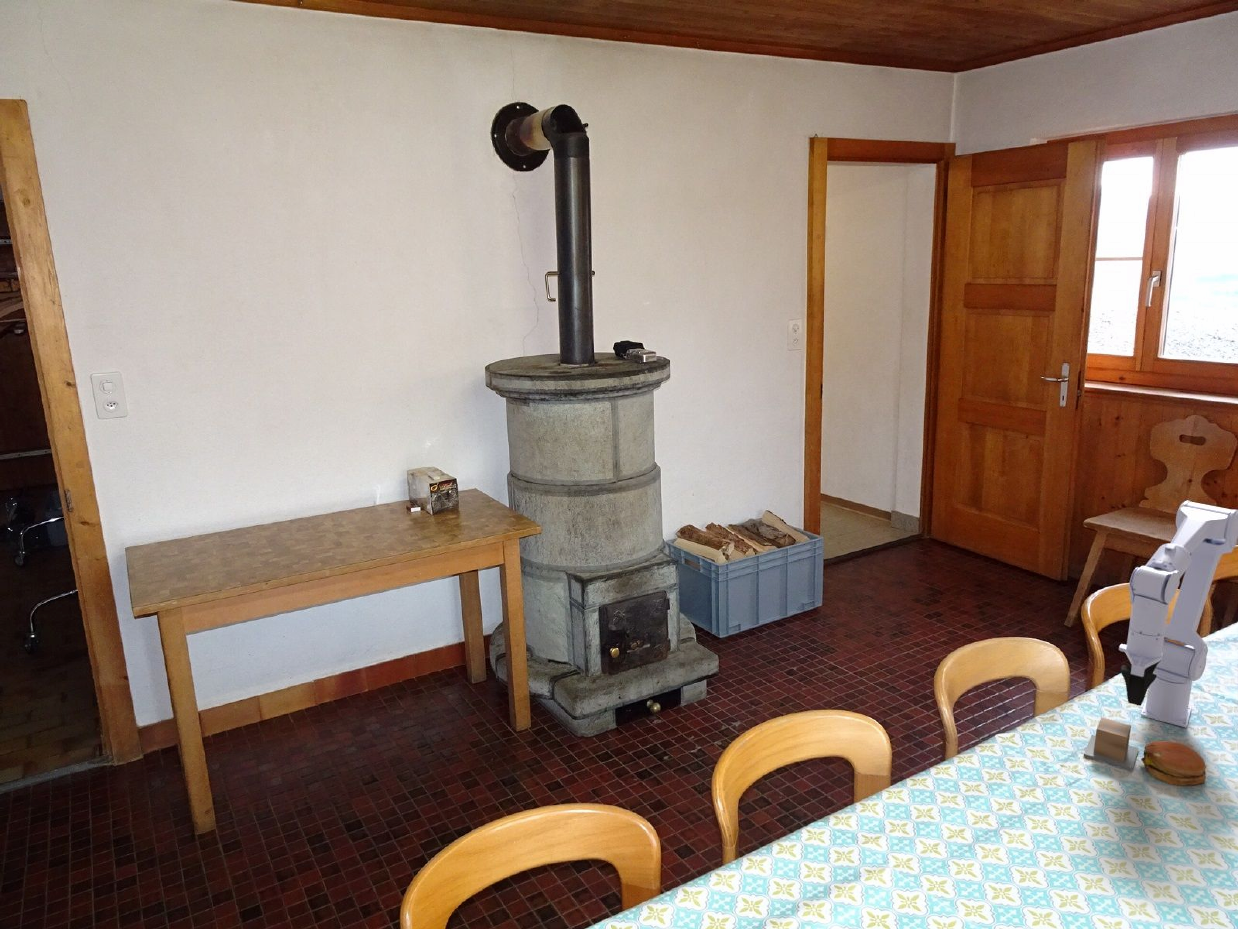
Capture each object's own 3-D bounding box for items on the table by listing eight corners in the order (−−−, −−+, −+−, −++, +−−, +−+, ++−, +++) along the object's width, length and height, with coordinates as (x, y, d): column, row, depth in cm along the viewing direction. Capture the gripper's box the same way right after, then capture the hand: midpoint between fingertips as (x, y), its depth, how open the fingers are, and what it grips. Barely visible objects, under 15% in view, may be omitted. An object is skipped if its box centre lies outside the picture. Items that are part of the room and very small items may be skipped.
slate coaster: (1091, 737, 170) (1091, 734, 170) (1138, 750, 165) (1138, 748, 165) (1083, 756, 164) (1083, 753, 164) (1131, 771, 159) (1132, 768, 159)
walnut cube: (1098, 740, 168) (1101, 717, 167) (1127, 749, 165) (1131, 725, 164) (1093, 752, 164) (1096, 729, 163) (1123, 761, 161) (1126, 737, 160)
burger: (1215, 778, 157) (1218, 755, 156) (1185, 794, 153) (1188, 771, 151) (1160, 751, 165) (1163, 730, 164) (1130, 766, 161) (1133, 744, 160)
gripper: (1128, 611, 170) (1120, 674, 173) (1116, 638, 159) (1107, 705, 162) (1170, 619, 165) (1161, 684, 169) (1160, 648, 154) (1151, 716, 158)
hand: (1137, 695), depth 165 cm, fingers open, 7 cm apart
